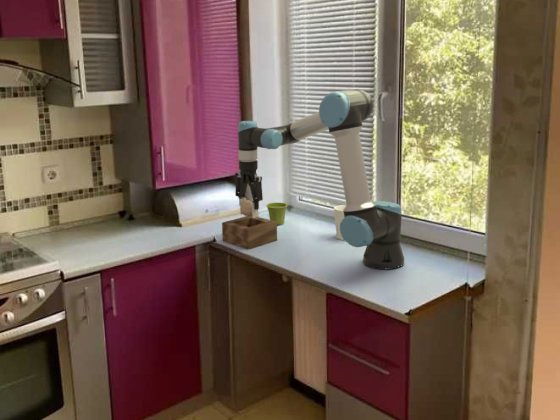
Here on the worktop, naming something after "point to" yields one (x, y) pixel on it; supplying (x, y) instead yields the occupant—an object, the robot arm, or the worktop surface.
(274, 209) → the plant pot
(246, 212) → the garlic bulb
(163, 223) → the worktop surface
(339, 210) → the foam cup
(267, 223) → the walnut well
